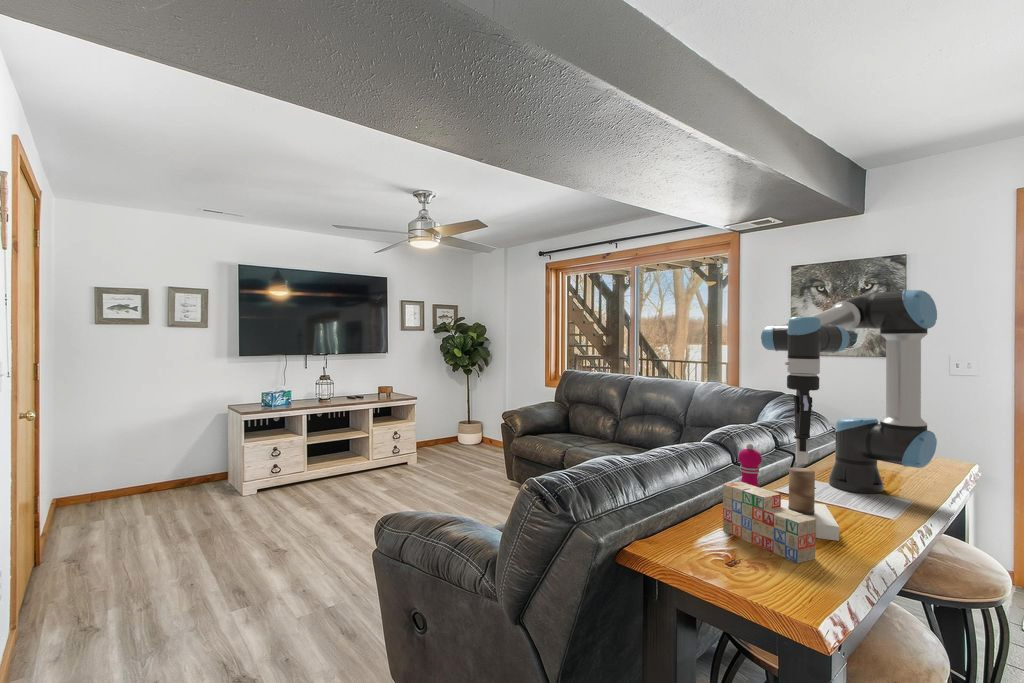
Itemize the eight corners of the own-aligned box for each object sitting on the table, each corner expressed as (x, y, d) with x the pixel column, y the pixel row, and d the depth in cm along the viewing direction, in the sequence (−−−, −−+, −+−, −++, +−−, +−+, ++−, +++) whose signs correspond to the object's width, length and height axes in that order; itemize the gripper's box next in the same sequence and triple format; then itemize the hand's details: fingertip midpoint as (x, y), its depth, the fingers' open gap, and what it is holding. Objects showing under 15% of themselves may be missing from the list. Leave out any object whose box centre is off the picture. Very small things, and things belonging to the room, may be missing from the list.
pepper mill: (766, 519, 139) (767, 447, 139) (738, 517, 140) (739, 445, 140) (759, 510, 146) (760, 441, 146) (732, 508, 148) (733, 440, 147)
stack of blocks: (816, 559, 115) (817, 505, 114) (797, 564, 112) (798, 509, 112) (739, 526, 134) (740, 480, 134) (721, 530, 132) (722, 483, 131)
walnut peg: (812, 520, 137) (812, 468, 137) (816, 528, 132) (817, 474, 132) (786, 516, 140) (787, 466, 140) (789, 524, 134) (790, 471, 134)
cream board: (824, 516, 141) (825, 504, 141) (839, 540, 125) (839, 526, 125) (768, 510, 147) (769, 498, 147) (775, 532, 130) (775, 518, 130)
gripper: (784, 372, 143) (783, 456, 143) (790, 375, 131) (788, 466, 131) (814, 373, 140) (813, 458, 140) (824, 376, 128) (822, 470, 128)
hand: (801, 462), depth 136 cm, fingers closed
